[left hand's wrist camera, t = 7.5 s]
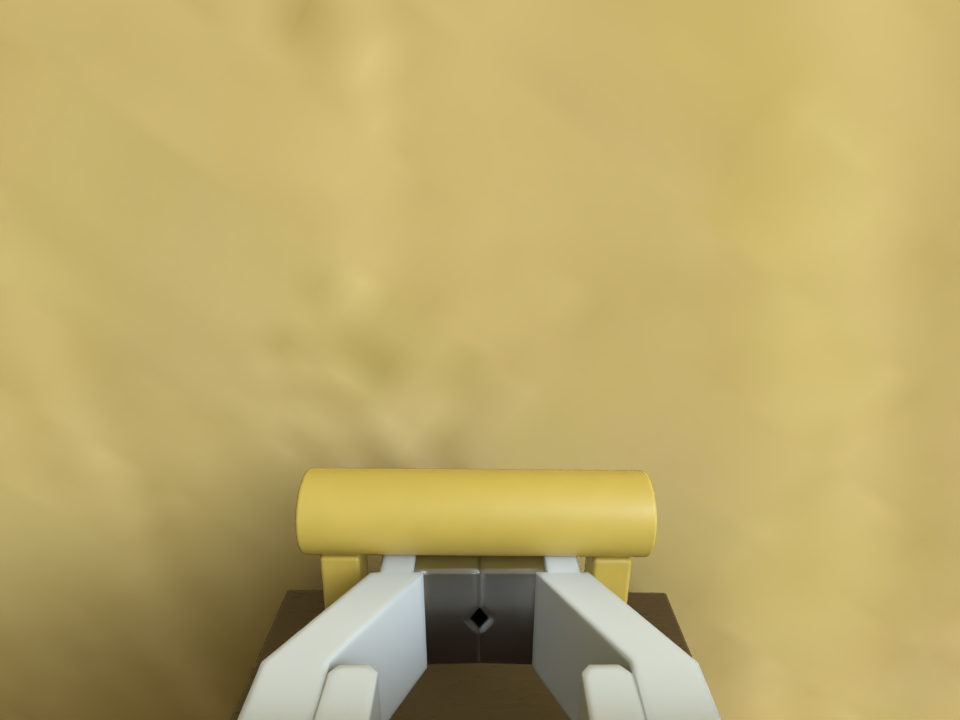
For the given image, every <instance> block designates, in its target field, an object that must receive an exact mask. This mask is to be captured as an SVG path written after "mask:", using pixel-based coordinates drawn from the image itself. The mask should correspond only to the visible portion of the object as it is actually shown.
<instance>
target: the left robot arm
mask: <svg viewBox="0 0 960 720" xmlns="http://www.w3.org/2000/svg"><path fill="white" fill-rule="evenodd" d="M461 663H497V664H532V668H533V669H534V670H535V672H536V673H537V675H538V676H539V677H540V679H541V680H542V681H543V683H544V684H545V686H546V687H547V688H548V690H549V691H550V693H551V694H552V695H553V697H554V698H555V699H556V701H557V702H558V704H559V705H560V706H561V708H562V709H563V710H564V712H565V713H566V715H567V716H568V717H569V719H570V720H721V717H720V715H719V712H718V710H717V708H716V705H715V703H714V700H713V698H712V695H711V693H710V691H709V688H708V686H707V683H706V681H705V678H704V676H703V673H702V671H701V669H700V666H699V664H698V662H696V661H695V660H694V659H693V658H692V657H690V656H689V655H688V654H687V653H686V652H684V651H683V650H682V649H681V648H680V647H678V646H677V645H676V644H675V643H674V642H672V641H671V640H670V639H669V638H667V637H666V636H665V635H664V634H663V633H661V632H660V631H659V630H658V629H657V628H655V627H654V626H653V625H652V624H651V623H649V622H648V621H647V620H646V619H645V618H643V617H642V616H641V615H640V614H638V613H637V612H636V611H635V610H634V609H632V608H631V607H630V606H629V605H628V604H626V603H625V602H624V601H623V600H622V599H620V598H619V597H618V596H617V595H616V594H614V593H613V592H612V591H611V590H609V589H608V588H607V587H606V586H605V585H603V584H602V583H601V582H600V581H599V580H597V579H596V578H595V577H594V576H593V575H591V574H590V573H589V572H580V569H579V565H578V560H577V556H456V555H383V557H382V561H381V565H380V570H379V572H371V573H369V574H368V575H367V576H365V577H364V578H363V579H362V580H361V581H359V582H358V583H357V584H356V585H354V586H353V587H352V588H351V589H350V590H348V591H347V592H346V593H345V594H344V595H342V596H341V597H340V598H339V599H337V600H336V601H335V602H334V603H333V604H331V605H330V606H329V607H328V608H326V609H325V610H324V611H323V612H322V613H320V614H319V615H318V616H317V617H316V618H314V619H313V620H312V621H311V622H309V623H308V624H307V625H306V626H305V627H303V628H302V629H301V630H300V631H298V632H297V633H296V634H295V635H294V636H292V637H291V638H290V639H289V640H288V641H286V642H285V643H284V644H283V645H281V646H280V647H279V648H278V649H277V650H275V651H274V652H273V653H272V654H271V655H269V656H268V657H267V658H266V659H264V660H263V661H262V662H261V664H260V667H259V669H258V672H257V674H256V676H255V679H254V681H253V683H252V686H251V688H250V691H249V693H248V695H247V698H246V700H245V703H244V705H243V707H242V710H241V712H240V715H239V717H238V719H237V720H389V719H390V718H391V717H392V715H393V714H394V713H395V711H396V710H397V708H398V707H399V706H400V704H401V703H402V702H403V700H404V699H405V697H406V696H407V695H408V693H409V692H410V691H411V689H412V688H413V686H414V685H415V684H416V682H417V681H418V680H419V678H420V677H421V676H422V674H423V673H424V671H425V670H426V669H427V664H461Z"/></svg>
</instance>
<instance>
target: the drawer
mask: <svg viewBox="0 0 960 720" xmlns="http://www.w3.org/2000/svg"><path fill="white" fill-rule="evenodd" d="M295 527H296V537H297V542H298V546H299V549H300V550H301V552H302V553H304V554H322V555H321V558H320V562H321V572H322V583H323V590H288V591H287V593H286V595H285V598H284V600H283V602H282V604H281V607H280V609H279V611H278V613H277V616H276V618H275V620H274V623H273V625H272V627H271V629H270V632H269V634H268V636H267V638H266V641H265V643H264V645H263V648H262V650H261V652H260V654H259V657H258V659H257V661H256V664H255V666H254V668H253V670H252V673H251V675H250V677H249V679H248V682H247V684H246V686H245V689H244V691H243V693H242V695H241V698H240V700H239V702H238V704H237V707H236V709H235V711H234V714H233V716H232V718H231V720H237V719H238V717H239V715H240V712H241V710H242V707H243V705H244V703H245V700H246V698H247V695H248V693H249V691H250V688H251V686H252V683H253V681H254V679H255V676H256V674H257V672H258V669H259V667H260V664H261V662H262V661H263V660H264V659H266V658H267V657H268V656H269V655H271V654H272V653H273V652H274V651H275V650H277V649H278V648H279V647H280V646H281V645H283V644H284V643H285V642H286V641H288V640H289V639H290V638H291V637H292V636H294V635H295V634H296V633H297V632H298V631H300V630H301V629H302V628H303V627H305V626H306V625H307V624H308V623H309V622H311V621H312V620H313V619H314V618H316V617H317V616H318V615H319V614H320V613H322V612H323V611H324V610H325V609H326V608H328V607H329V606H330V605H331V604H333V603H334V602H335V601H336V600H337V599H339V598H340V597H341V596H342V595H344V594H345V593H346V592H347V591H348V590H350V589H351V588H352V587H353V586H354V585H356V584H357V583H358V582H359V581H361V580H362V579H363V578H364V577H365V576H367V575H368V565H367V555H456V556H582V557H586V561H585V572H589V573H590V574H591V575H593V576H594V577H595V578H596V579H597V580H599V581H600V582H601V583H602V584H603V585H605V586H606V587H607V588H608V589H609V590H611V591H612V592H613V593H614V594H616V595H617V596H618V597H619V598H620V599H622V600H623V601H624V602H625V603H626V604H628V605H629V606H630V607H631V608H632V609H634V610H635V611H636V612H637V613H638V614H640V615H641V616H642V617H643V618H645V619H646V620H647V621H648V622H649V623H651V624H652V625H653V626H654V627H655V628H657V629H658V630H659V631H660V632H661V633H663V634H664V635H665V636H666V637H667V638H669V639H670V640H671V641H672V642H674V643H675V644H676V645H677V646H678V647H680V648H681V649H682V650H683V651H684V652H686V653H687V654H688V655H689V656H690V657H692V656H691V653H690V651H689V648H688V646H687V644H686V641H685V639H684V636H683V634H682V632H681V629H680V627H679V624H678V622H677V620H676V617H675V615H674V612H673V610H672V607H671V605H670V603H669V600H668V598H667V595H666V594H665V593H628V590H629V581H630V572H631V563H632V561H631V558H630V557H647V556H649V555H651V553H652V552H653V549H654V546H655V541H656V534H657V510H656V501H655V495H654V491H653V487H652V484H651V481H650V479H649V477H648V475H647V474H646V473H645V472H644V471H641V470H521V469H396V468H311V469H309V470H307V472H306V473H305V475H304V477H303V479H302V482H301V485H300V488H299V492H298V497H297V504H296V516H295ZM389 720H570V719H569V717H568V716H567V715H566V713H565V712H564V710H563V709H562V708H561V706H560V705H559V704H558V702H557V701H556V699H555V698H554V697H553V695H552V694H551V693H550V691H549V690H548V688H547V687H546V686H545V684H544V683H543V681H542V680H541V679H540V677H539V676H538V675H537V673H536V672H535V670H534V669H533V668H532V664H497V663H461V664H427V669H426V670H425V671H424V673H423V674H422V676H421V677H420V678H419V680H418V681H417V682H416V684H415V685H414V686H413V688H412V689H411V691H410V692H409V693H408V695H407V696H406V697H405V699H404V700H403V702H402V703H401V704H400V706H399V707H398V708H397V710H396V711H395V713H394V714H393V715H392V717H391V718H390V719H389Z"/></svg>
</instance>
